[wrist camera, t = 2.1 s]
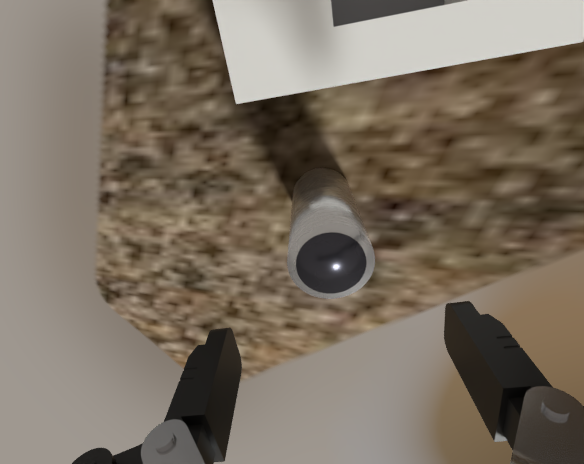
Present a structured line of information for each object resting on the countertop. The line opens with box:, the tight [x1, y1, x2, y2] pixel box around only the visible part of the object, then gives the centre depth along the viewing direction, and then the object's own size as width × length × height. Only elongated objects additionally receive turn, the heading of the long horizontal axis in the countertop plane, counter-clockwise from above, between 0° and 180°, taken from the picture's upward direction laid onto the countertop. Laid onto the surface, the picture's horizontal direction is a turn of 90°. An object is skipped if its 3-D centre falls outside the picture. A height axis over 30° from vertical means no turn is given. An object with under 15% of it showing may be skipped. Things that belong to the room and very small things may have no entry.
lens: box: [287, 168, 375, 299], centre depth 22 cm, size 4×4×10 cm
